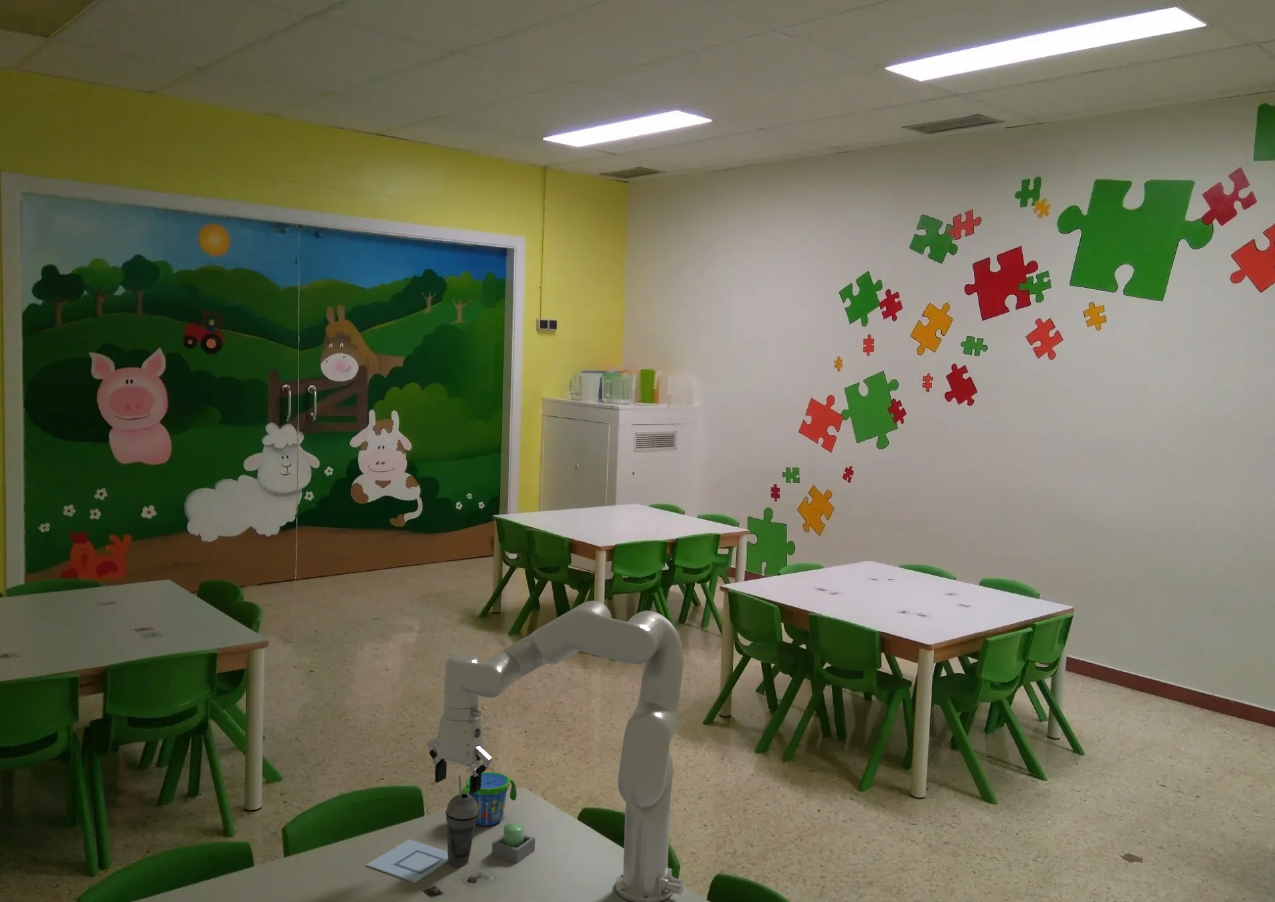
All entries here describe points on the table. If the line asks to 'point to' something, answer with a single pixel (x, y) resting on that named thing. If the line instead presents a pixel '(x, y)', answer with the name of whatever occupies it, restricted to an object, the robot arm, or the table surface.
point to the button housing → (513, 849)
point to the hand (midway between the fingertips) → (457, 785)
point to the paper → (410, 861)
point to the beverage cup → (460, 827)
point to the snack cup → (491, 797)
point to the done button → (514, 834)
